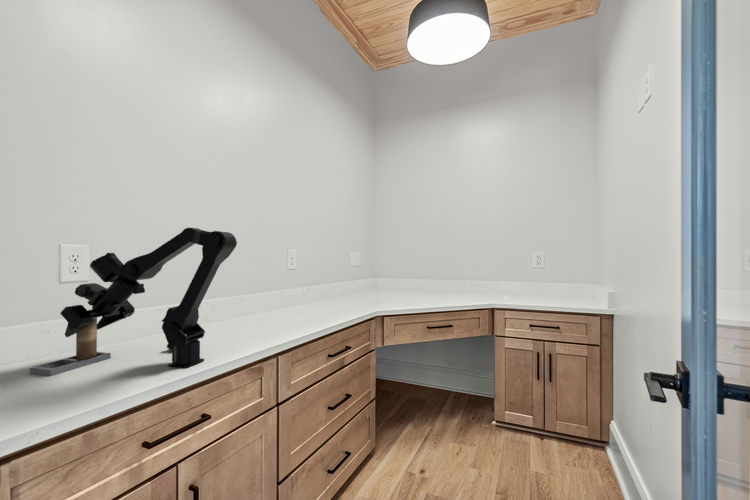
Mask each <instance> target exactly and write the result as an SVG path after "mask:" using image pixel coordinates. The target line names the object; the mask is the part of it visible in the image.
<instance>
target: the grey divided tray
mask: <svg viewBox="0 0 750 500" xmlns="http://www.w3.org/2000/svg"><path fill="white" fill-rule="evenodd" d="M111 357H112V355H111V352H103V351H97V356H96V357H92V358H89V359H85V360H77V359H76V355H73V356H68V357H65V358H61V359H57V360H54V361H50V362H46V363H43V364H39V365H35V366H31V367H29V374H31V375H41V376H46V377H47V376H48V377H52V376H55V375H58V374H62V373H65V372H69V371H72V370H75V369H79V368H81V367H86V366H88V365H89V366H90V365H93V364H95V363H96V364H97V363H99V362H101V361H103V362H104V361H105V360H106V361H107V360H108V359H111Z"/></svg>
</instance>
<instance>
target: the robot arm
mask: <svg viewBox="0 0 750 500" xmlns="http://www.w3.org/2000/svg"><path fill="white" fill-rule="evenodd" d="M195 244H196V245H199V246H202V248H201V250H202V251H201V253H202V255H201V256H202V259H201V261H200V263H199V265H198V268H197V269H196V271H195V273H194V275H193V277H192V279H191V282H190V283H189V285H188V287H187V289H186V291H185V293H184V295H183V298H182V300H181V301H180V303H179V305H177V306H172V307H169V308H168V309H167V310H166V314H165V317H163V319H161V322H162V326H161V329H162V331H163V334H164V336H165V338H166V342H167V345H173V347H172V350H171V361H172V362H169V363H168V364H167V365H168V367H175V368H185V369H186V368H189V367H192V366H194V365H197V364H199V363H202V362H204V361H205V358H201V341H200V339H203V338H204V335H205V333H206V330H205V329H204V328H203V327H202V326H201V325H200V324H199V323H198V321H199V317H200V316H199V308H200V306H201V304H202V302H203V300H204V298H205V296H206V293H207V292H208V290H209V288H210V286H211V284H212V281H213V279H214V278H215V276H216V274H217V272H218V269H219V268H220V266H221V264H222V263H224V261H225V260H226V259H228V257H230V256H231V254H232V253H233V251H234V250H235V249H236V247H237V244H238V241H237V238H236V237H235V235H234V234H233V233H231V232H227V231H219V230H212V231H207V230H203V229H200V228H198V227H186V228H184V229H183V230H182V231H181V232H179V233H178V234H177V235H175V236H174V237H172V238H171V239H169V240H168V241H166V242H165V243H163V244H162V245H160V246H159V247H157V248H156V249H154V250H153V251H151V252H148V253H146V254H143V255H138V256H137V257H133V258H132V259H129V260H127V261H125V263H123V262H122V261H121V260H120V259H119V258H118V256H117V255H116V254H115V252H107V253H106V254H105V255H102V256H99V257H97V258H95V259H94V260H92V261H91V262H90V264H89V267H90V269H91V270H92V271H93V272H94V273H95V274H96V276H98V277H99V278H100V279H101V281H102V282H104V283H111V284H110V285H109V286H108V287H107V288H106V287H104V286H102V285H100V284H99V283H95V282H91V283H82V284H79V285H78V286H77V287H76V288H75V291H74V295H76V296H78V297H80V298H84V299H86V300H88V301H87V302H86V303H87V304H88V306H92V307H91V309H86V307H85V306H84V305H83V304H74V305H70V306H65V307H64V308H63V309H62V310H61V311H60V313H59V314H60V315H61V316H62V317H63V318H64V320H65V321H66V322H67V325H66V328H65V332H64V336H65V338H70V337H72V336H73V335H76V333H77V332H79V331H81V330H83V329H85V328H87V327H88V326H87V325H89V324H90V323H91V322H92V321H93V318H97V319H98V318H100V320H99V321H97V331H98V330H101V329H103V328H105V327H108V326H110V325H112V324H114V323H115V324H116V323H117V322H118V321H122V320H124V319H127V318H128V317H129V318H130V317H131V316H132V315H133V314H134V313H135V307H134V306H133V305H132V303H131V302H130V301H129V300H128V299H129V298H131V296H132V295H137V294H138V295H139V294H145V293H146V289H145V286H144V285H145V284H144V283H140V282H139V281H142V280H143V281H144V280H150V279H153V278H154V277H155V276H156V275H157V274H158V273H159V272H161V270H162V268H163V266H165V264H166V263H168V262H169V261H171V260H172V259H174V258H176V257H177V256H179V255H180V254H182V253H183V252H185V251H187V249H189V248H190V247H193V246H194V245H195Z"/></svg>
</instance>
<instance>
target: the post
mask: <svg viewBox="0 0 750 500" xmlns="http://www.w3.org/2000/svg"><path fill="white" fill-rule="evenodd" d="M97 324H98V317H97V318H93V321H92V322H91V323H90V324H89V325H87V326H88V327H87V328H85V329H83V330H81V331H79V332H77V333H75V336H76V337H75V338H76V339H75V346H76V347H75V349H76V350H75V356H76V359H77V360H85V359H89V358H92V357H96V356H97V352H98V350H97V349H98V337H97V335H98V330H97Z"/></svg>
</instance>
